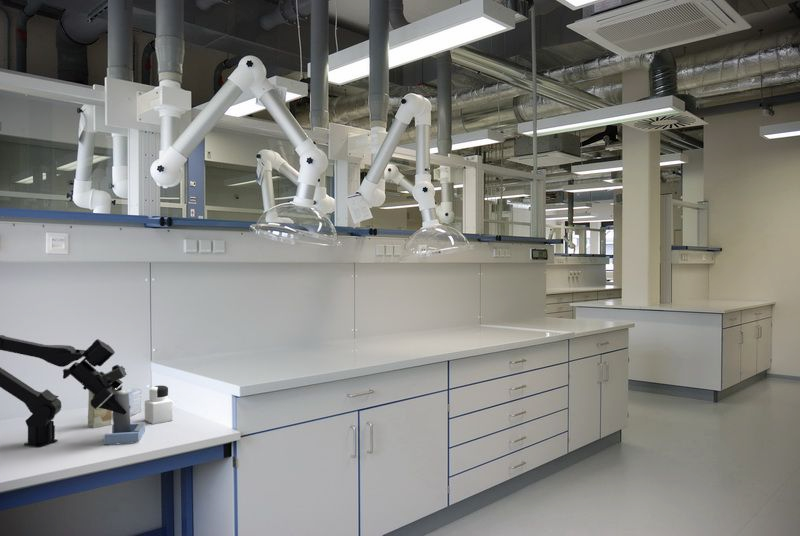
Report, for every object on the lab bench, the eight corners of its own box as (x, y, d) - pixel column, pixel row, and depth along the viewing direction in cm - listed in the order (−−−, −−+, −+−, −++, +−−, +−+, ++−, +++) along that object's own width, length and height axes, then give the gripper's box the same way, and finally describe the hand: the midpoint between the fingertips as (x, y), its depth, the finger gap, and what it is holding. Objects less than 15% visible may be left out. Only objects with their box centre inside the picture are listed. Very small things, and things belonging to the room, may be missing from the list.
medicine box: (130, 411, 220) (130, 388, 220) (141, 412, 219) (141, 388, 219) (117, 417, 212) (117, 392, 212) (128, 417, 212) (128, 393, 211)
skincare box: (93, 428, 197) (93, 391, 197) (87, 426, 200) (87, 390, 200) (112, 424, 202) (112, 388, 202) (106, 422, 205) (106, 387, 205)
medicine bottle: (164, 416, 212) (164, 383, 212) (173, 420, 207) (173, 386, 207) (144, 420, 207) (144, 386, 207) (152, 424, 202) (152, 389, 202)
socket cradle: (104, 444, 179) (104, 434, 179) (113, 433, 191) (113, 423, 191) (138, 442, 182) (138, 431, 182) (144, 431, 194) (144, 421, 194)
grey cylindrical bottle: (122, 438, 183) (120, 393, 183) (110, 438, 185) (108, 392, 185) (134, 434, 188) (131, 389, 188) (122, 433, 189) (120, 389, 189)
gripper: (102, 363, 176) (142, 398, 179) (115, 353, 194) (151, 386, 197) (73, 390, 174) (113, 425, 177) (89, 379, 192) (125, 411, 195)
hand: (127, 410), depth 187 cm, fingers open, 6 cm apart
